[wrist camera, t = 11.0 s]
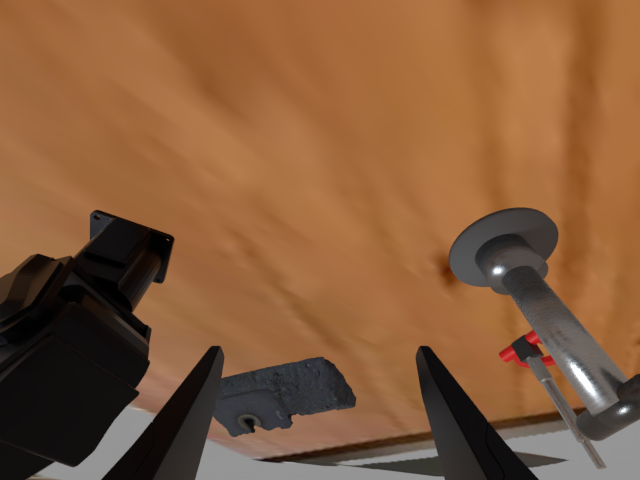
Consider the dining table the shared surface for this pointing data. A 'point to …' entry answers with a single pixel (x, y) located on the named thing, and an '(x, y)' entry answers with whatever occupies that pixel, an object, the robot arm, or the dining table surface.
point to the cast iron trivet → (280, 395)
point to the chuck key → (562, 336)
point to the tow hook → (547, 384)
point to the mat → (501, 222)
